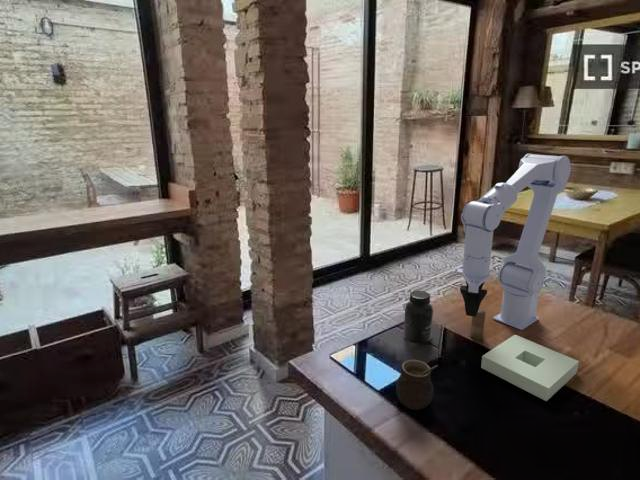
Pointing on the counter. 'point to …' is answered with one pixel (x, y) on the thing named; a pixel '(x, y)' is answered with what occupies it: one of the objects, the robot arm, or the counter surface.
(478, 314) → the dowel
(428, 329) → the supplement bottle
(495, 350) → the socket block
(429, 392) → the mate gourd
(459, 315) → the counter surface
